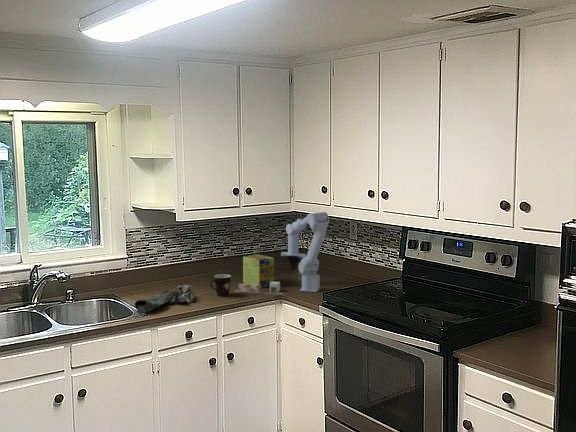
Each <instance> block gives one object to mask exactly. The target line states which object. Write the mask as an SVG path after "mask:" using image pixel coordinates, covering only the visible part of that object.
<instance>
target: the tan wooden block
mask: <svg viewBox="0 0 576 432" xmlns="http://www.w3.org/2000/svg"><path fill="white" fill-rule="evenodd" d="M237 285H238V286H237V288H238V289H237V290H238V291H252V292H258V293H257V294H260V293H259V292H262V288H261V284H258V285H251V284H245V283H238V284H237Z"/></svg>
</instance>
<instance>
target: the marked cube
mask: <svg viewBox="0 0 576 432" xmlns="http://www.w3.org/2000/svg"><path fill="white" fill-rule="evenodd" d="M280 291H281V282H280V281H274V282H271V283H270V286H269V292H276V293H279V292H280Z"/></svg>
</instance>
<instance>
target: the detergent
mask: <svg viewBox="0 0 576 432" xmlns="http://www.w3.org/2000/svg"><path fill="white" fill-rule="evenodd" d="M173 300H174V291H173V290H172V291H171V290H169V289H164V290H162V292H160V293H158V294H156V295H152V296H150V297H148V298H139V299H137V300H135V302H134V307H135V310H137V311H138V312H140V313H144V314H148V313H150V312H152V311H153V310H154V309H156V308H158V307H160V306H163V305H164V304H169V303H171V302H172V301H173Z"/></svg>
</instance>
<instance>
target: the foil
mask: <svg viewBox="0 0 576 432" xmlns="http://www.w3.org/2000/svg"><path fill="white" fill-rule="evenodd" d="M174 286H175V288H174V289H173V290H172V292H174V298H173V300H174V304H175V305H177V304H178V302H182V300H183V301H184V300H185V302H186V304H189V305H190V304H192V303H194V302H196V299H197V297H196V296H194V295H195V291H192V290H193V285H190V284H189V283H186V284H184V285H183V284H182V283H179V284H178V286H176V285H174ZM177 288H178V290H179V291H180V292H179V291H177V290H176V289H177Z"/></svg>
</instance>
